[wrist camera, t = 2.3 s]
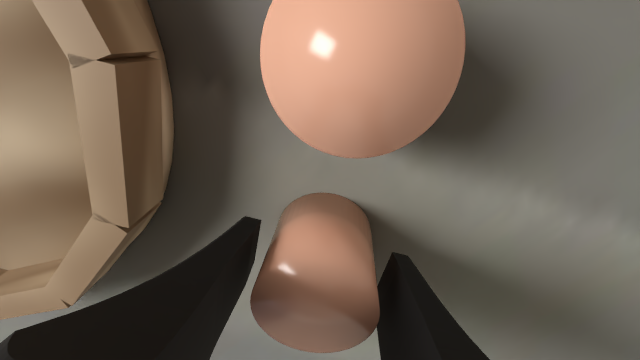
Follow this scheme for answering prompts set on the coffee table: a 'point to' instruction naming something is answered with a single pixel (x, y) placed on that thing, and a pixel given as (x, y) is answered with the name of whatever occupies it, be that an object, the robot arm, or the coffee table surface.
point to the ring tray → (77, 144)
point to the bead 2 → (318, 277)
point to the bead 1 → (361, 70)
